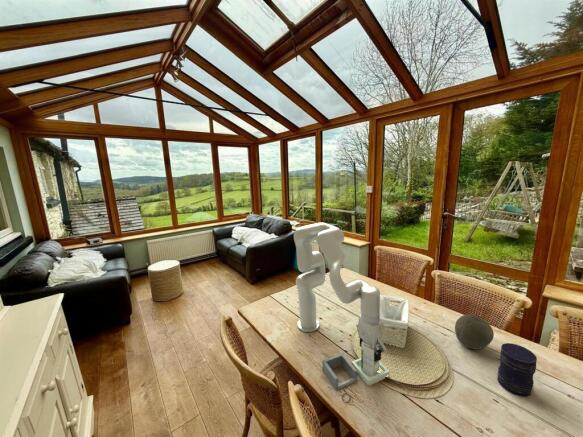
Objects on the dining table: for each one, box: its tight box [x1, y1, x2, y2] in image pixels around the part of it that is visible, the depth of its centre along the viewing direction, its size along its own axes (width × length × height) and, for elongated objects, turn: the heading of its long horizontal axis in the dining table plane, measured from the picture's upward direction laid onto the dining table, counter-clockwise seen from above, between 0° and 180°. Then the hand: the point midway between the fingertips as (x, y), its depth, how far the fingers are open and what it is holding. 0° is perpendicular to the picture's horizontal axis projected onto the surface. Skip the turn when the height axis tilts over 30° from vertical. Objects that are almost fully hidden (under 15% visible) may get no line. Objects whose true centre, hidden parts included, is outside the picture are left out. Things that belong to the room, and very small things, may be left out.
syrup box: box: [360, 340, 380, 377], centre depth 100 cm, size 6×6×14 cm
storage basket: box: [380, 294, 410, 349], centre depth 123 cm, size 24×16×15 cm
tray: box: [351, 357, 390, 387], centre depth 101 cm, size 11×11×2 cm
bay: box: [321, 352, 358, 391], centre depth 100 cm, size 11×10×5 cm
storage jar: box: [497, 342, 538, 398], centre depth 90 cm, size 10×10×15 cm
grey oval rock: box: [454, 313, 495, 350], centre depth 111 cm, size 14×14×15 cm
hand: (369, 352), depth 100 cm, fingers open, 8 cm apart
